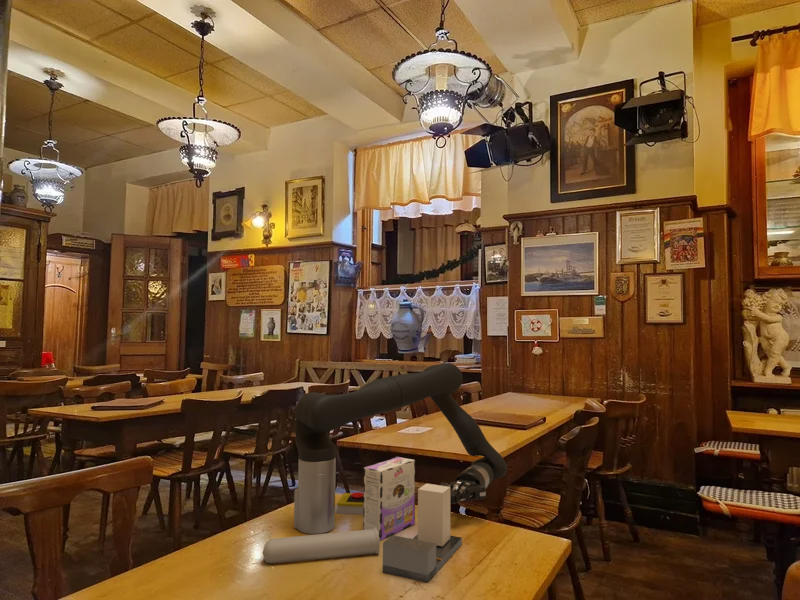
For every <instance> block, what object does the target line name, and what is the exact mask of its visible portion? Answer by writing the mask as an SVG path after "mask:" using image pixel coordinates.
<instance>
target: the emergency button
mask: <svg viewBox="0 0 800 600" xmlns="http://www.w3.org/2000/svg"><path fill="white" fill-rule="evenodd" d="M363 509H364V492H360V491H359V492H353V493H350V492H349V493H347V492H345V493H342V495H341V496H340V497H339V499H338V501H337V503H335V515H336V514H339V515H356V514H357V516H358V515H359V516H360V515H361V516H363V511H364V510H363Z"/></svg>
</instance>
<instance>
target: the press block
mask: <svg viewBox="0 0 800 600" xmlns="http://www.w3.org/2000/svg"><path fill="white" fill-rule="evenodd" d="M417 534H418V540H421V541H426V542H431V543H436V545H437V546H442V547H443V545H444V544H445V543H446V542H447V541H448V540H449V539H450V535H451V503H450V487H447V486H441V484H439V485H438V484H432V483H425V484H424V485H422V486H420V487H419V488H417Z"/></svg>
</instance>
